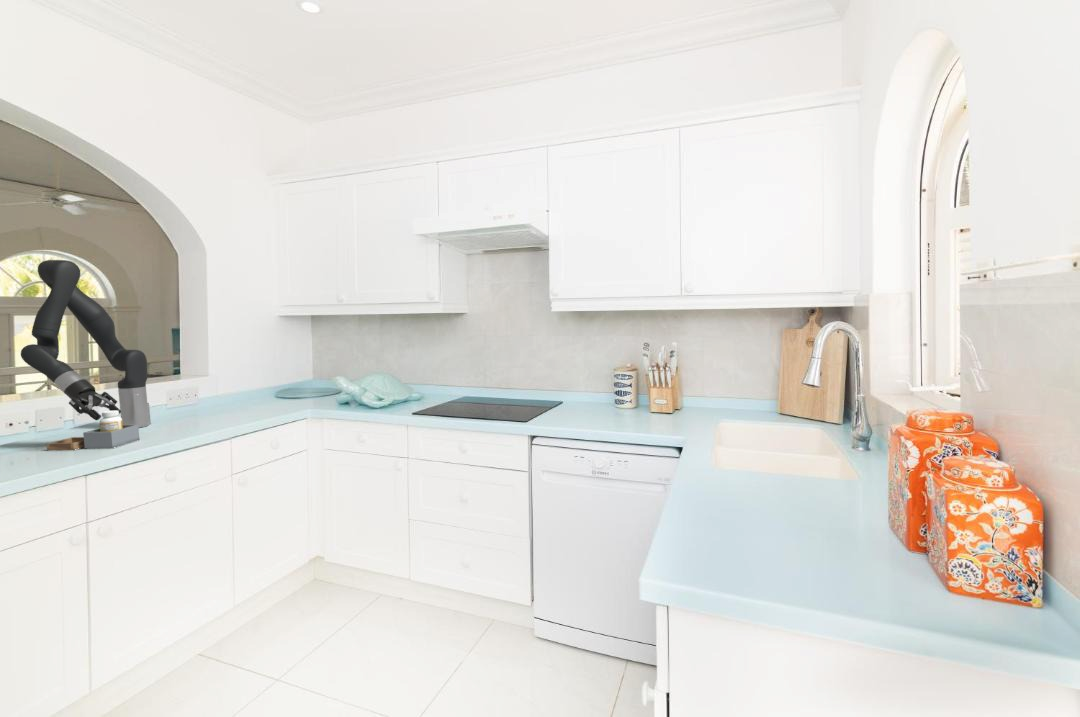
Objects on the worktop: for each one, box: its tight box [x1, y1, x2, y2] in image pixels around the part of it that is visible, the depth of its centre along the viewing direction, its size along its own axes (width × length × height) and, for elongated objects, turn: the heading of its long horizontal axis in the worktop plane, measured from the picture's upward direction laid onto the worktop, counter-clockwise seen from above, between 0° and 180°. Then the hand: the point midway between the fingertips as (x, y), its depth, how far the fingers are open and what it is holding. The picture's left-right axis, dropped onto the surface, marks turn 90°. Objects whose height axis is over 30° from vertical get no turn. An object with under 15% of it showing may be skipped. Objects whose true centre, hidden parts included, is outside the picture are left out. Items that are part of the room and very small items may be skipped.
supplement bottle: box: [99, 410, 123, 432], centre depth 184 cm, size 6×6×11 cm
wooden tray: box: [46, 436, 85, 451], centre depth 181 cm, size 10×10×2 cm
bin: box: [82, 425, 140, 449], centre depth 184 cm, size 12×10×6 cm
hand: (109, 416), depth 183 cm, fingers open, 8 cm apart
